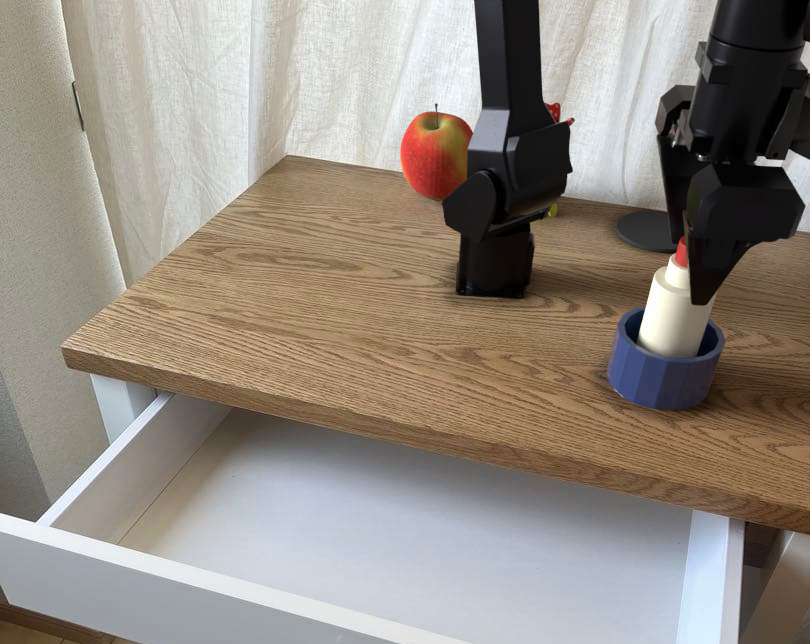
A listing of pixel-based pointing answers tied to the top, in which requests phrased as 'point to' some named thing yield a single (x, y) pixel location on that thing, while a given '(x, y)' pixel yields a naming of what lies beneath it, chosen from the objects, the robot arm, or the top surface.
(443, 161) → the apple
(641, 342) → the cream cylinder
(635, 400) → the cup
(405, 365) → the top surface
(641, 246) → the coaster
